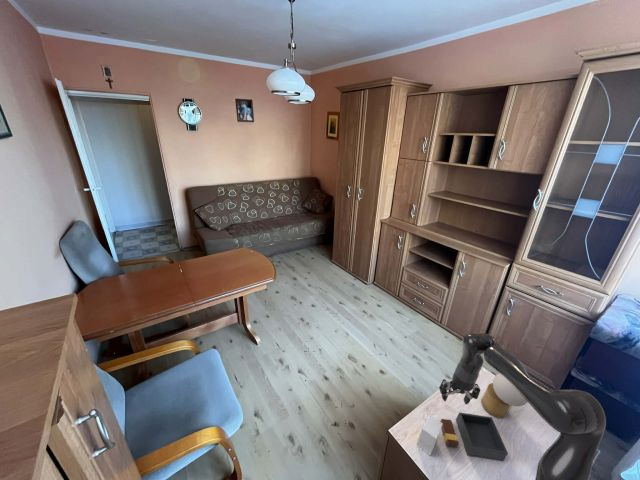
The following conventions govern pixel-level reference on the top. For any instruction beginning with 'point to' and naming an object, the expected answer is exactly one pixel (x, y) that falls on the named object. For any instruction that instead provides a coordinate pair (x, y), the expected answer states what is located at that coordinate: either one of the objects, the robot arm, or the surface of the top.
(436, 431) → the small box
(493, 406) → the lamp
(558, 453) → the robot arm
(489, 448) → the dark gray rectangular tray
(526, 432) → the top surface
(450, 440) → the chocolate bar
